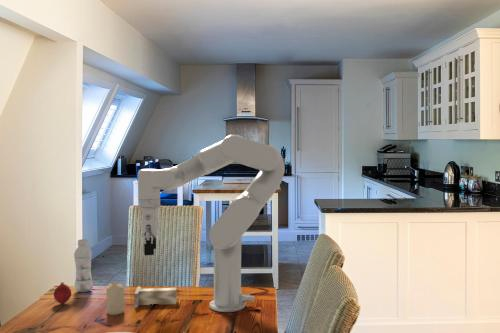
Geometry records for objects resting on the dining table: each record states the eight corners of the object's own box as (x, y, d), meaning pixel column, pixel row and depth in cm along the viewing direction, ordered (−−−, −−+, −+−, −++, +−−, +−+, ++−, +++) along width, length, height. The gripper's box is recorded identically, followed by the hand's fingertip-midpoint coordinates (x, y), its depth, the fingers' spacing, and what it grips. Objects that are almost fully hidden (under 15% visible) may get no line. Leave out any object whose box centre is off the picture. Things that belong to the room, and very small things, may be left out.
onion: (74, 304, 172) (74, 281, 172) (58, 308, 168) (58, 285, 167) (66, 300, 176) (66, 278, 176) (51, 304, 172) (50, 282, 171)
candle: (119, 315, 161) (118, 285, 160) (104, 314, 162) (103, 284, 161) (126, 309, 166) (126, 281, 166) (111, 308, 167) (111, 280, 167)
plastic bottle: (89, 294, 183) (89, 241, 182) (71, 294, 183) (71, 241, 182) (95, 289, 189) (94, 238, 188) (78, 289, 189) (77, 238, 188)
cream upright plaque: (177, 299, 178) (176, 285, 178) (175, 306, 170) (175, 292, 170) (137, 300, 176) (137, 286, 176) (134, 307, 168) (134, 293, 168)
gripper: (158, 206, 163) (159, 257, 163) (161, 200, 180) (162, 246, 181) (135, 207, 162) (136, 258, 163) (141, 201, 179) (142, 247, 180)
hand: (150, 251), depth 172 cm, fingers open, 9 cm apart
